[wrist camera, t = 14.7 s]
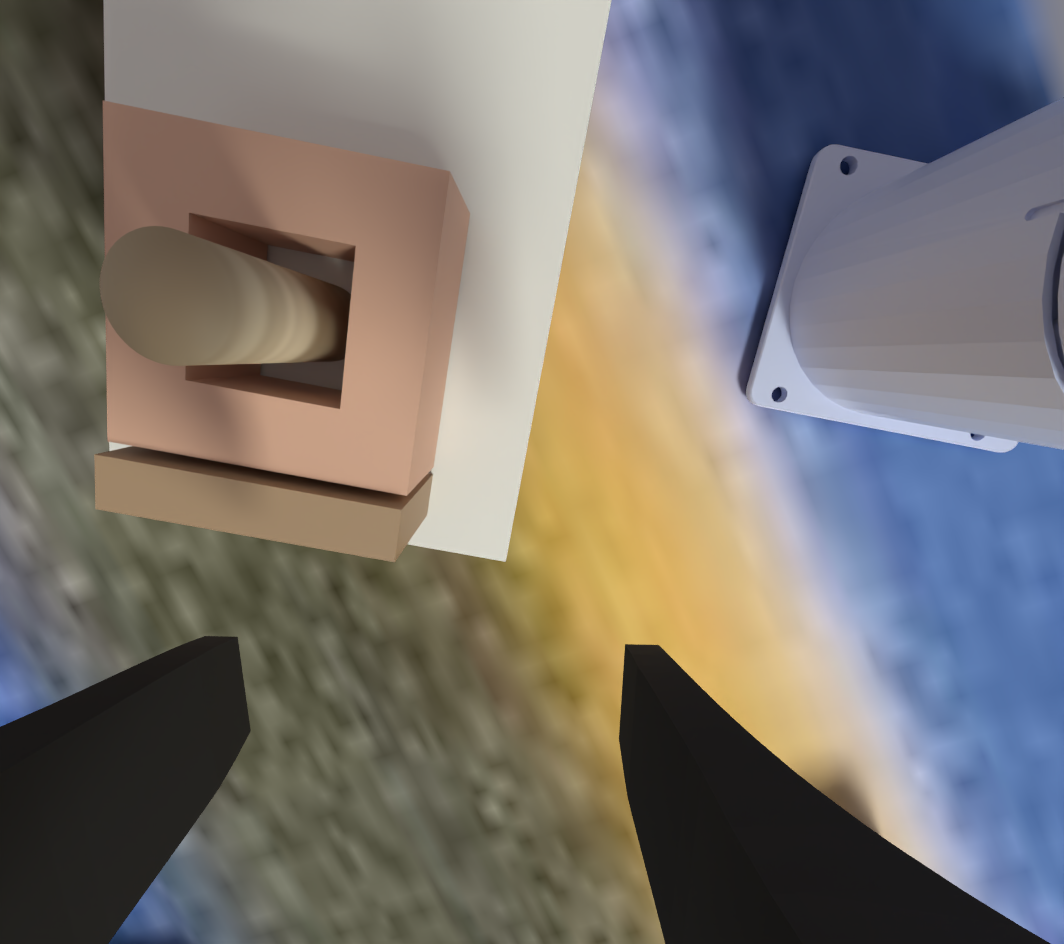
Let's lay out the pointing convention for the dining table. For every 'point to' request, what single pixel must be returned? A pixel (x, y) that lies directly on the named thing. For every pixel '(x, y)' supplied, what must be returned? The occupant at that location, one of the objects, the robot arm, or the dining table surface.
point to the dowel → (217, 304)
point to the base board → (486, 281)
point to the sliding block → (249, 227)
